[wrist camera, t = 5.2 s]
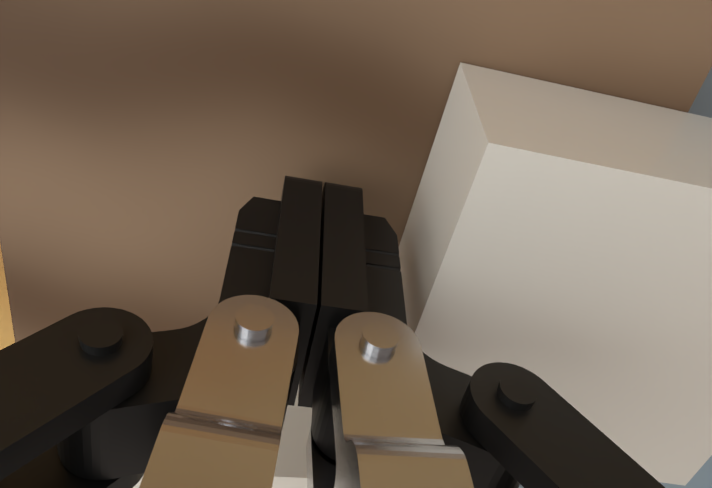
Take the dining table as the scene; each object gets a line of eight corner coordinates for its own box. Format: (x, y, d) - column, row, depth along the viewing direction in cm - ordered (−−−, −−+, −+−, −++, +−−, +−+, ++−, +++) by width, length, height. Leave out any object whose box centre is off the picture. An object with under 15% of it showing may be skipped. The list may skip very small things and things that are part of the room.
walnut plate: (0, -242, 12) (-72, -236, 10) (709, -88, 13) (775, -56, 11) (70, 468, 23) (44, 537, 21) (440, 504, 25) (449, 572, 23)
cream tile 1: (460, 62, 12) (488, 142, 10) (805, 138, 13) (908, 228, 11) (368, 338, 16) (371, 443, 14) (637, 381, 17) (684, 485, 15)
